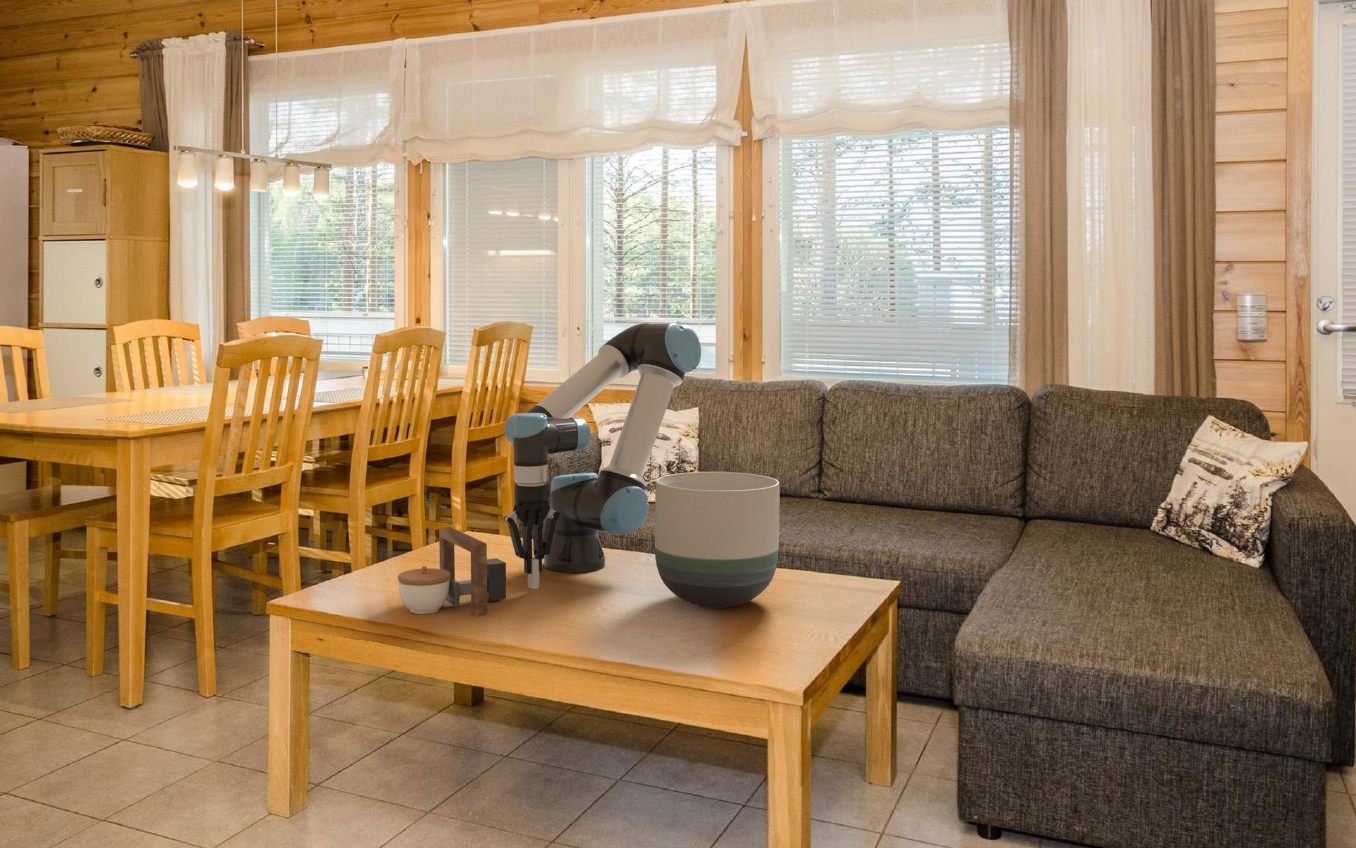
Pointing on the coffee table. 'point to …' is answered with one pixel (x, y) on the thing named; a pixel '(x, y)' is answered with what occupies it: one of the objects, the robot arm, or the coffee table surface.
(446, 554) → the bridge
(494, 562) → the cube and plate dumbbell
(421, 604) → the lidded jar
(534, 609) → the coffee table surface
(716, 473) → the planter
